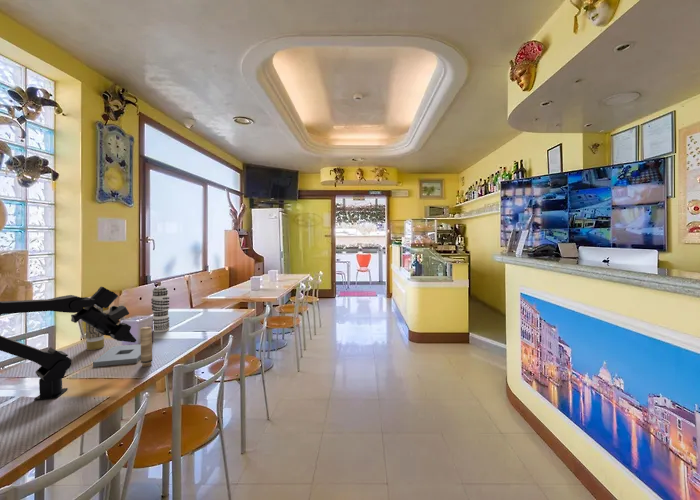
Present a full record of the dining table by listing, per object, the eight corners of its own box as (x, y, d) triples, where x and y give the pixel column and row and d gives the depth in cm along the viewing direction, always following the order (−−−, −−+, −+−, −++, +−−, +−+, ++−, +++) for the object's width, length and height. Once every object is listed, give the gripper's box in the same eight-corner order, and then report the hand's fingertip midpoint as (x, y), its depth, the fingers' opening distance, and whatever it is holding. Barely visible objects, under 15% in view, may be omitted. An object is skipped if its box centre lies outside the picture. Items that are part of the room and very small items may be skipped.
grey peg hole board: (136, 362, 138) (136, 358, 138) (93, 366, 134) (92, 362, 134) (151, 347, 157) (151, 343, 157) (114, 350, 153) (113, 346, 153)
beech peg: (150, 366, 134) (149, 329, 134) (139, 367, 133) (138, 329, 132) (153, 362, 138) (152, 326, 137) (143, 363, 137) (142, 327, 136)
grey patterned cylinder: (94, 351, 152) (92, 298, 151) (82, 350, 153) (81, 298, 152) (107, 346, 159) (106, 296, 158) (96, 345, 160) (94, 295, 159)
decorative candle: (168, 326, 193) (167, 285, 191) (171, 330, 185) (170, 287, 184) (150, 329, 187) (149, 287, 186) (153, 333, 180) (152, 289, 178)
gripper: (124, 303, 120) (156, 325, 129) (103, 298, 130) (134, 319, 140) (99, 329, 113) (135, 350, 123) (79, 321, 124) (114, 341, 133)
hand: (130, 339), depth 130 cm, fingers open, 9 cm apart
